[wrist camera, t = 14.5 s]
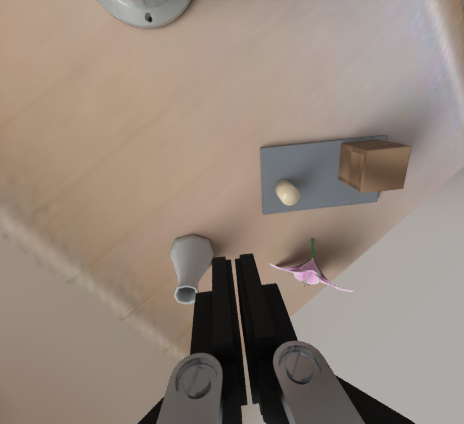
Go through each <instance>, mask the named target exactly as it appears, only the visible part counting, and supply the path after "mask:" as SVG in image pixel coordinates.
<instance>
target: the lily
mask: <svg viewBox="0 0 464 424" xmlns="http://www.w3.org/2000/svg"><path fill="white" fill-rule="evenodd" d="M311 243H312V258H311V260H310V261H309V262H306V263H304V264H302V265H299V266H296V267H293V268H281V267H277V266H275V265H272V264H270V265H271V266H273V267H275V268H277V269H279V270H285V271H288V272H292V273H294V277H295V278H296V279H298V280H300V281H303V282H306V283H309V284H318V283H319V282H322V283H324V284H327V285H331V286H333V287H334V288H337V289H339V290H343V291H349V292H354V291H351V290H347V289H344V288H340V287H337V286H335V285H333V284H331V283H330V282H329V281H328V280H327V279H326V278H325V276H324V275H323V274H322V273H321V271H320V270H319V269H318V267H317V266H316V264H315V263H314V244H313V238H311ZM303 282H302V283H303ZM306 283H305V285H304V287H305V286H306Z"/></svg>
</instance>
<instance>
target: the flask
mask: <svg viewBox="0 0 464 424" xmlns="http://www.w3.org/2000/svg"><path fill="white" fill-rule="evenodd" d="M170 256H171V258H172V261H173V264H174V266H175V270H176V273H177V276H178V286H177V288H176V291H175V293H174V296H175V298H176V300H177V302H178V303H182V304H186V305H188V304H191V303H195V295H196V293H199V291H198V283H199V281H200V279H201V278H202V276H203V275H204V273H205V272H206V271H207V269H208V268H209V265H210V263H211V261H212V258H213V256H214V252H213V249H212V246H211V244H210V241H209V240H208V239H205V238H202V237H198V236H195V235H189V236H185V237H181V238H178V239H175V241H174V244H173V246H172V249H171V252H170Z"/></svg>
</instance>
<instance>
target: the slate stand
mask: <svg viewBox="0 0 464 424" xmlns="http://www.w3.org/2000/svg"><path fill="white" fill-rule="evenodd" d="M369 140H381V141H386V140H387V136H385V135H381V136H371V137H361V138H351V139H341V140H332V141H322V142H312V143H302V144H292V145H282V146H272V147H262V148H260V159H261V183H262V208H263V214H271V213H280V212H289V211H298V210H307V209H316V208H325V207H334V206H343V205H352V204H361V203H370V202H377V198H378V192H379V191H378V192H369V193H361V192H360V191H358V190H356V189H354V188H353V187H351V186H349V185H347V184H346V183H344V182H342V181H340V180H339V179H338V172H339V160H340V148H341V143H349V142H359V141H369Z"/></svg>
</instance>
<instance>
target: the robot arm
mask: <svg viewBox="0 0 464 424" xmlns="http://www.w3.org/2000/svg"><path fill="white" fill-rule="evenodd" d="M97 1H98V2H99V3H100V4H101V5H102V6H103V7H104V8H105V9H106V10H107V11H108V12H109V13H110V14H111V15H113V16H114V17H116V18H117V19H119V20H120V21H122V22H124V23H126V24H128V25H131V26H133V27H138V28H143V29H153V28H158V27H162V26H165V25H167V24H169V23H171V22H173V21H174V20H176V19H177V18H178V17H179V16H180V15H181V14H182V13H183V12H184V11H185V9H186V8H187V7H188V5H189V4H190V2H191V0H97ZM149 18H152V22H149V21H148V19H149ZM235 265H236V276H237V286H238V296H239V306H240V315H241V323H242V330H243V337H244V344H245V352H246V359H247V365H248V373H249V380H250V388H251V395H252V402H253V404H256V403H259V406H260V412H261V415H263V420H264V422H265V423H267V424H415V423H414V422H412V421H411V420H409V419H408V418H406V417H404V416H403V415H401V414H399V413H397V412H396V411H394V410H392V409H391V408H389V407H388V406H386V405H384V404H382V403H381V402H379V401H377V400H376V399H374V398H372V397H371V396H369V395H367V394H366V393H364V392H362V391H361V390H359V389H358V388H356V387H354V386H353V385H351V384H349V383H348V382H346V381H344V380H343V379H341V378H339V377H338V376H336V375H335V374H334V373H333V371H332V370H331V368H330V366H329V365H328V363H327V362H326V360H325V358H324V357H323V355H322V354H321V353H320V352H319V351H318V350H317V349H316V348H315V347H313V346H312V345H310V344H308V343H305V342H302V341H298V340H297V337H296V334H295V331H294V329H293V326H292V323H291V321H290V318H289V315H288V312H287V310H286V307H285V304H284V302H283V299H282V296H281V293H280V291H279V288H278V286H277V284H276V283H274V284H266V285H261V281H260V277H259V274H258V270H257V267H256V263H255V260H254V256H253V253H252V254H243V255H240V258H239V259H235ZM242 405H247V396H246V386H245V376H244V366H243V356H242V346H241V337H240V329H239V321H238V313H237V305H236V297H235V289H234V281H233V273H232V265H231V260H226V258H225V257H217V258H212V291H208V292H200V293H196V295H195V305H194V316H193V328H192V339H191V351H190V356H187V357H185V358H184V359H183V360H181V361H180V362H179V363H178V364H177V366H176V367H175V368H174V370H173V372H172V375H171V376H170V380H169V383H168V386H167V390H166V393H165V396H164V397H163V398H162V399H161V401H159V402H158V403H157V404H156V405H155V406H154V407H153V409H151V411H150V412H149V413H148V414H147V415H146V416H145V417H144V418H143V419H142V420H141V421H140V422H139V423H138V424H242V412H241V406H242Z"/></svg>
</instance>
